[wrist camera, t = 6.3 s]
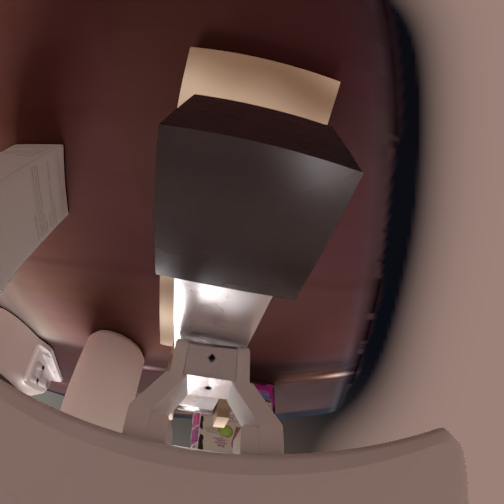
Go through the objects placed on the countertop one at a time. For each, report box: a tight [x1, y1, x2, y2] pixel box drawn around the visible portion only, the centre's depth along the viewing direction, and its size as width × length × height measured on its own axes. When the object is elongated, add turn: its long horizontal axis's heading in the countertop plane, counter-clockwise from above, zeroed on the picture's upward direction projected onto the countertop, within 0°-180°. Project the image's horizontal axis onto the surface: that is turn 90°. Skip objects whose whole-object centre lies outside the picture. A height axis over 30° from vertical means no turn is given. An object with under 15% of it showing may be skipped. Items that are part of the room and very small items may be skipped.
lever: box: [154, 94, 363, 415], centre depth 14 cm, size 24×4×5 cm, turn 167°
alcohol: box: [60, 330, 144, 433], centre depth 21 cm, size 9×9×30 cm
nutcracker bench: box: [160, 47, 340, 428], centre depth 19 cm, size 30×10×12 cm, turn 167°
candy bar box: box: [190, 380, 275, 453], centre depth 32 cm, size 11×5×16 cm, turn 64°
